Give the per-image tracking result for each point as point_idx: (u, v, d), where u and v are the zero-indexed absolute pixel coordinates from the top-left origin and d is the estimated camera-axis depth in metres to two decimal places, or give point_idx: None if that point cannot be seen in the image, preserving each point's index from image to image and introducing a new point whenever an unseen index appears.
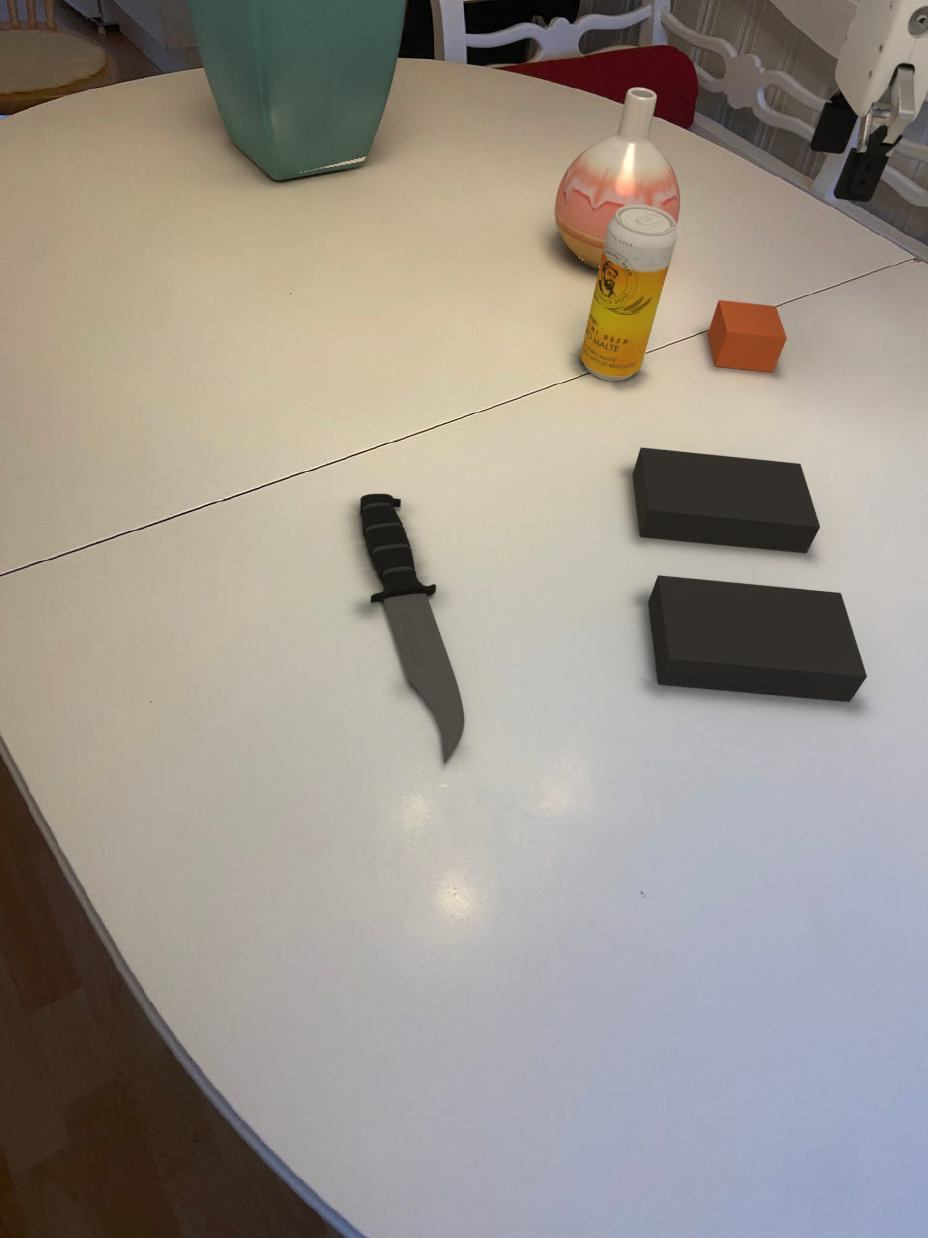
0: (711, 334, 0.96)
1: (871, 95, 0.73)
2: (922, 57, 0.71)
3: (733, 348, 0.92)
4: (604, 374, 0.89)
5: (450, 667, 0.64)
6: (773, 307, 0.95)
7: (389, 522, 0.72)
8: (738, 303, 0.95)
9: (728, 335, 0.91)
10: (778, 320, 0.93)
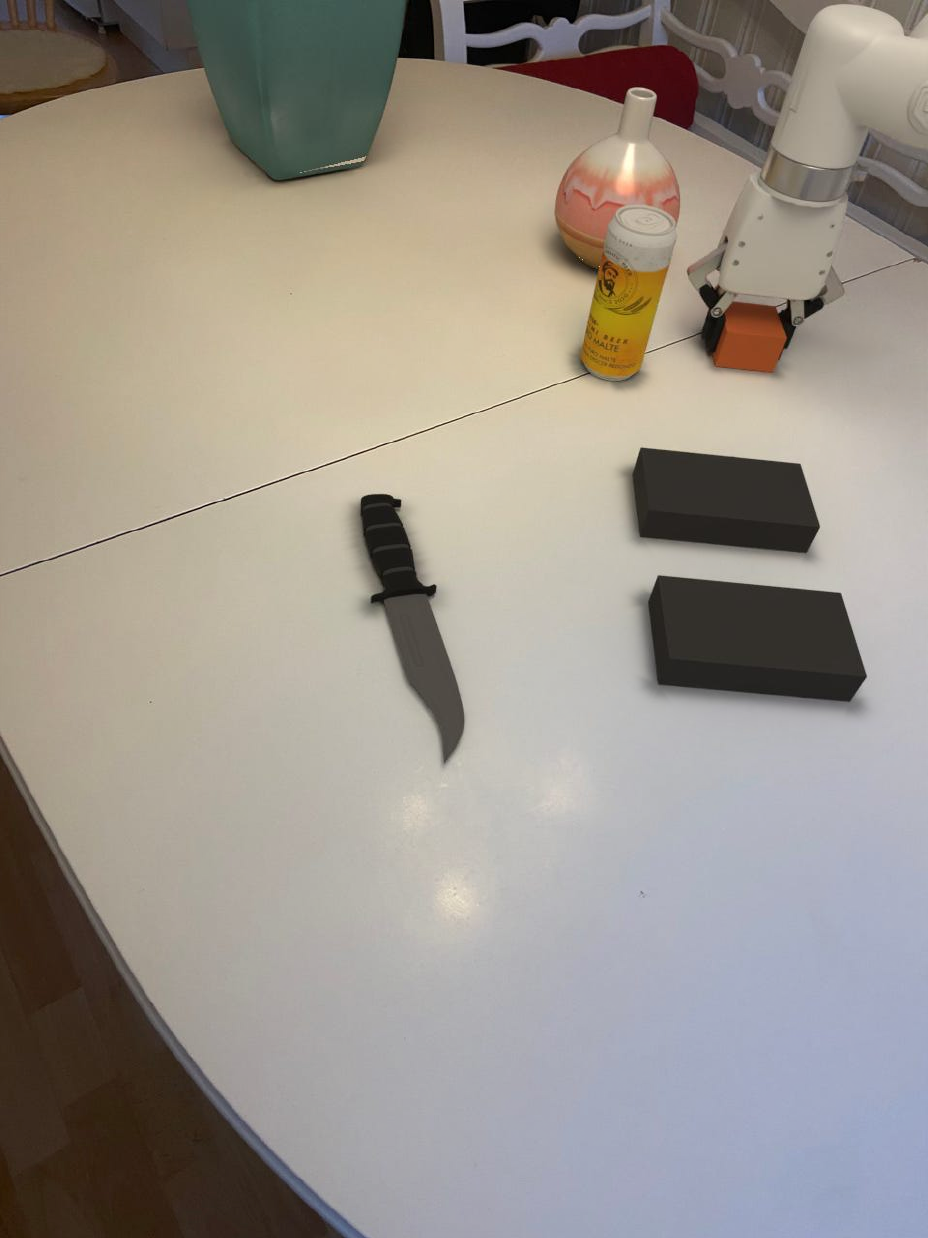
0: None
1: (823, 283, 0.88)
2: None
3: (733, 348, 0.92)
4: (604, 374, 0.89)
5: (450, 667, 0.64)
6: (773, 307, 0.95)
7: (390, 522, 0.72)
8: (738, 303, 0.95)
9: (728, 335, 0.91)
10: (778, 320, 0.93)
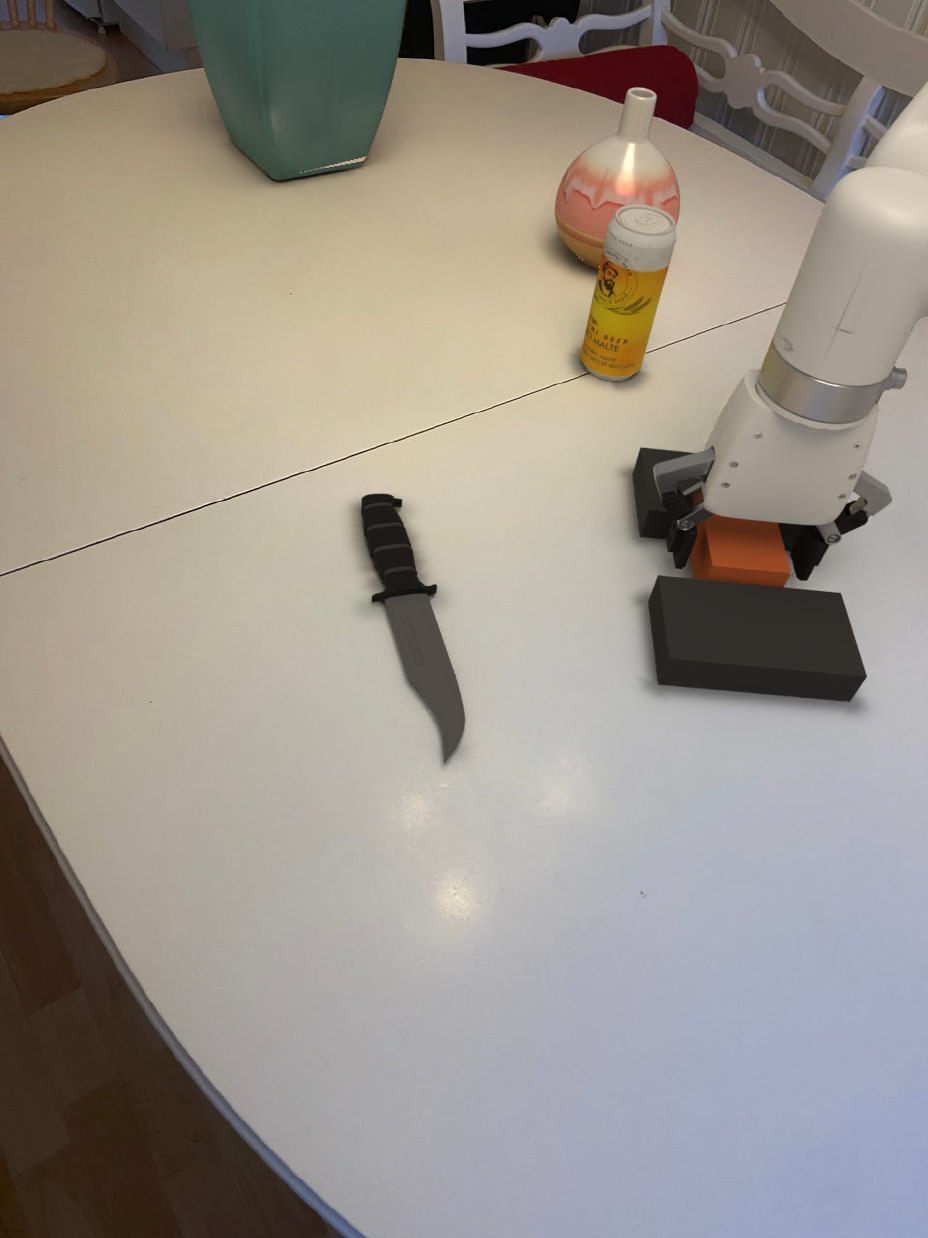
0: (693, 552, 0.74)
1: (844, 506, 0.66)
2: None
3: None
4: (604, 374, 0.89)
5: (451, 667, 0.64)
6: None
7: (391, 522, 0.72)
8: None
9: (713, 569, 0.69)
10: (780, 543, 0.71)
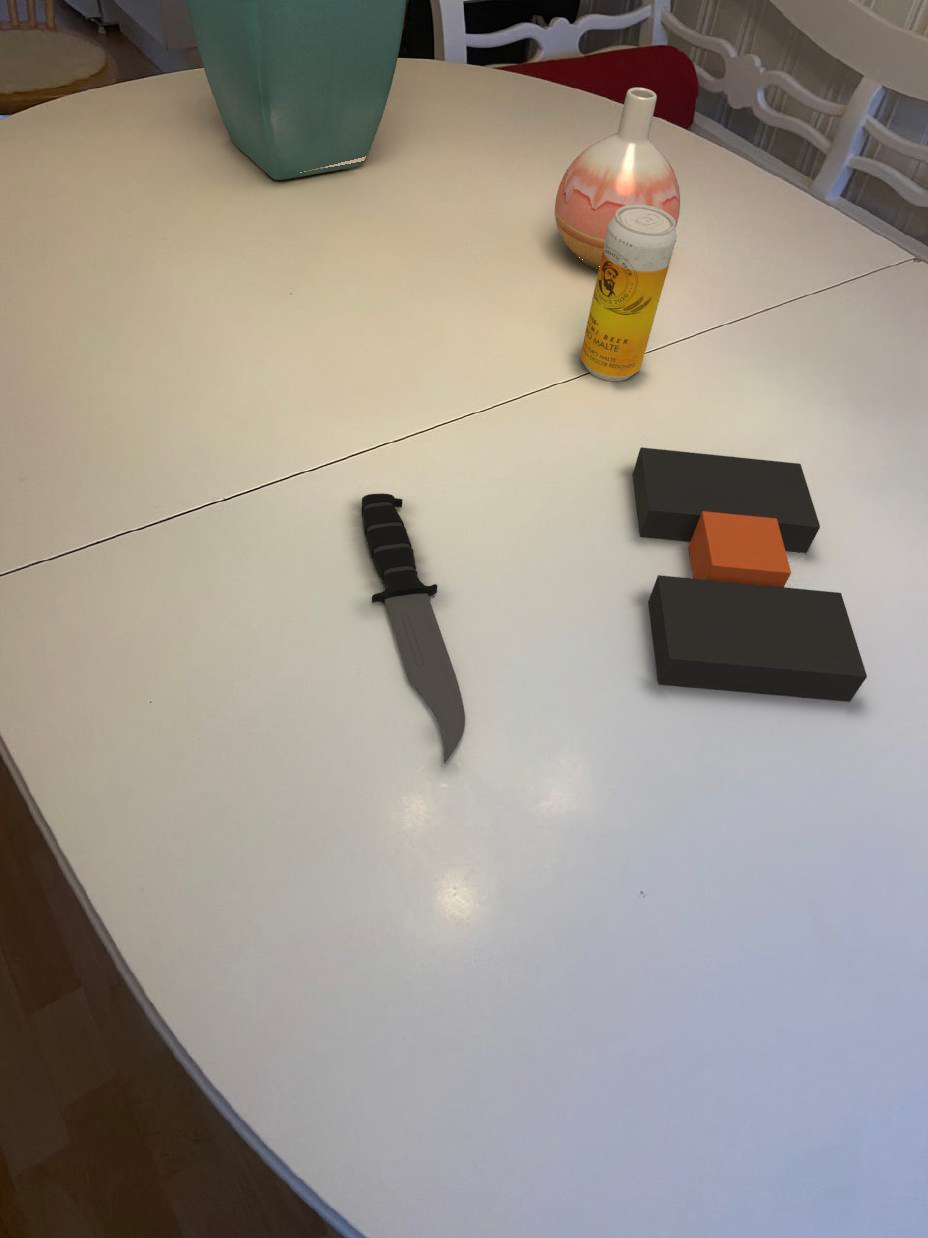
0: (693, 552, 0.74)
1: None
2: None
3: None
4: (604, 374, 0.89)
5: (451, 667, 0.64)
6: (773, 521, 0.73)
7: (391, 522, 0.72)
8: (727, 516, 0.73)
9: (713, 569, 0.69)
10: (780, 543, 0.71)
